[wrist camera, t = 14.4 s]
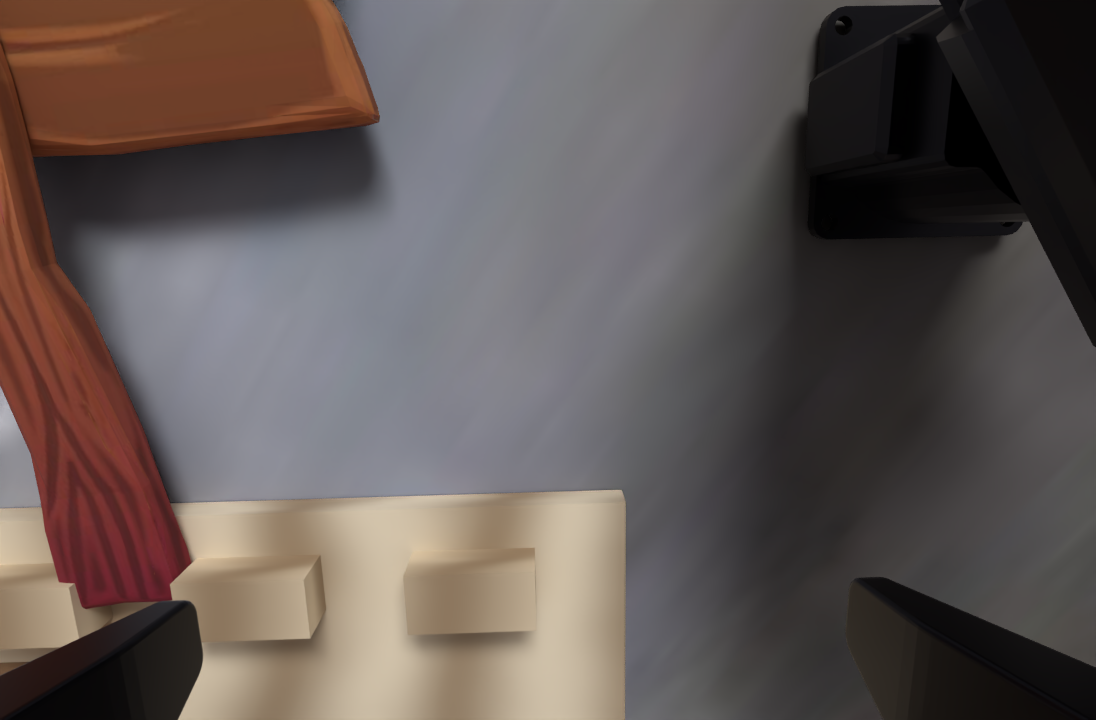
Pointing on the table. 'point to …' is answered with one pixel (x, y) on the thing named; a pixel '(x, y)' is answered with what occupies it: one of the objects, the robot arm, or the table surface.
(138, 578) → the sign
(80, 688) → the robot arm
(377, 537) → the birch notch board
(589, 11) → the table surface
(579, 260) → the table surface
